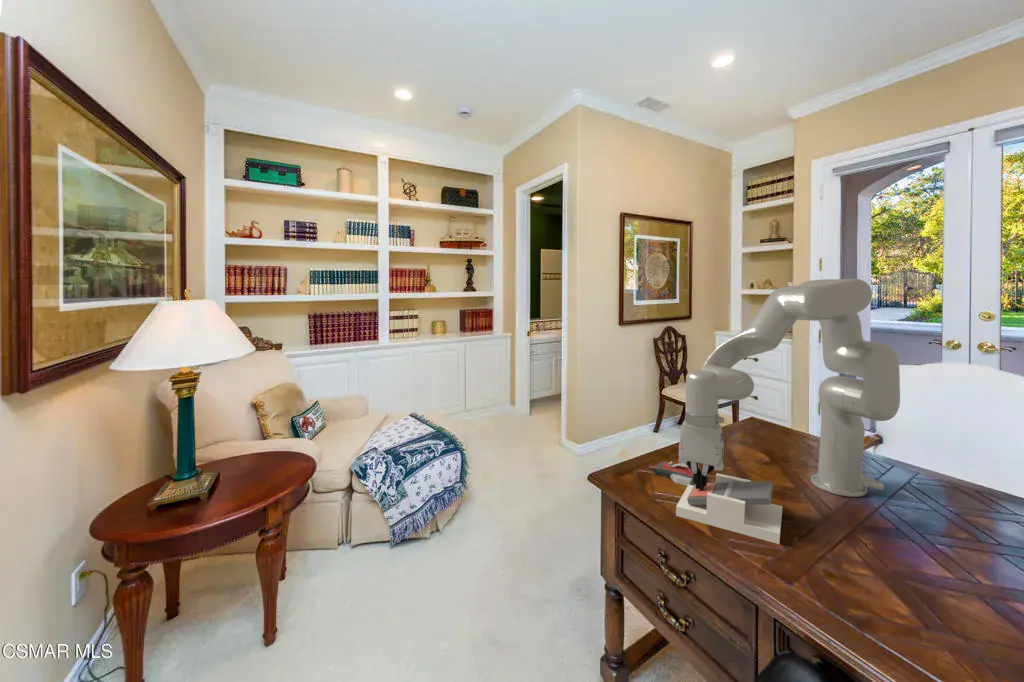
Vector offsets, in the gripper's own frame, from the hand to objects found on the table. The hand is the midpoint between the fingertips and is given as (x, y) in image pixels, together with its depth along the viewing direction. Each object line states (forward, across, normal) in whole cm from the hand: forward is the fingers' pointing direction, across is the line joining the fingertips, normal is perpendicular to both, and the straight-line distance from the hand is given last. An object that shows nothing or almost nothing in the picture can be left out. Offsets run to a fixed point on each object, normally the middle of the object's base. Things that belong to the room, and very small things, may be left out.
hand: (700, 487), depth 107 cm
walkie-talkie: (+6, +6, -15) cm, 17 cm away
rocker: (0, -7, 0) cm, 7 cm away
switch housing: (+6, -7, 0) cm, 9 cm away
